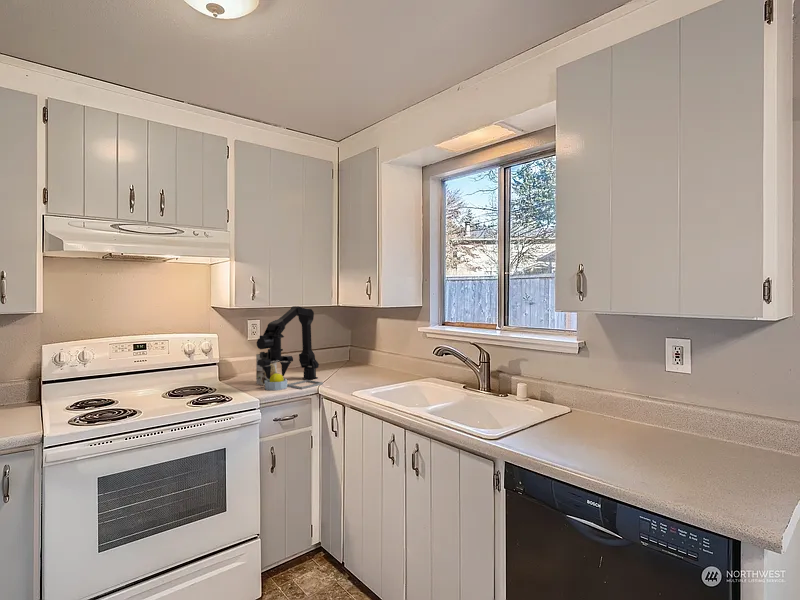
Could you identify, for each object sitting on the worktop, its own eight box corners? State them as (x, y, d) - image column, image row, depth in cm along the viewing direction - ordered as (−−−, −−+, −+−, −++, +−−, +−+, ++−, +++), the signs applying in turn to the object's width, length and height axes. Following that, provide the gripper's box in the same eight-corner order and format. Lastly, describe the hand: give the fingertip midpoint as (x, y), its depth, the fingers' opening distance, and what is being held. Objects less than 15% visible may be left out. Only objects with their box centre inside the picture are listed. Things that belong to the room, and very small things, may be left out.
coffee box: (263, 385, 245) (262, 355, 244) (256, 384, 249) (255, 354, 248) (277, 382, 252) (277, 353, 251) (270, 381, 256) (269, 352, 255)
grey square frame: (306, 381, 254) (306, 379, 254) (323, 384, 246) (323, 382, 246) (285, 386, 242) (285, 384, 242) (301, 389, 234) (301, 387, 234)
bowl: (277, 384, 246) (277, 377, 245) (291, 387, 239) (291, 379, 239) (260, 388, 237) (260, 380, 237) (274, 391, 230) (274, 383, 230)
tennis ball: (267, 386, 239) (267, 373, 238) (280, 384, 243) (280, 371, 243) (273, 389, 233) (273, 375, 233) (286, 387, 237) (286, 373, 237)
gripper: (279, 344, 250) (280, 372, 250) (250, 347, 235) (250, 378, 235) (293, 345, 243) (294, 375, 243) (264, 349, 228) (264, 381, 228)
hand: (275, 377), depth 238 cm, fingers open, 9 cm apart
